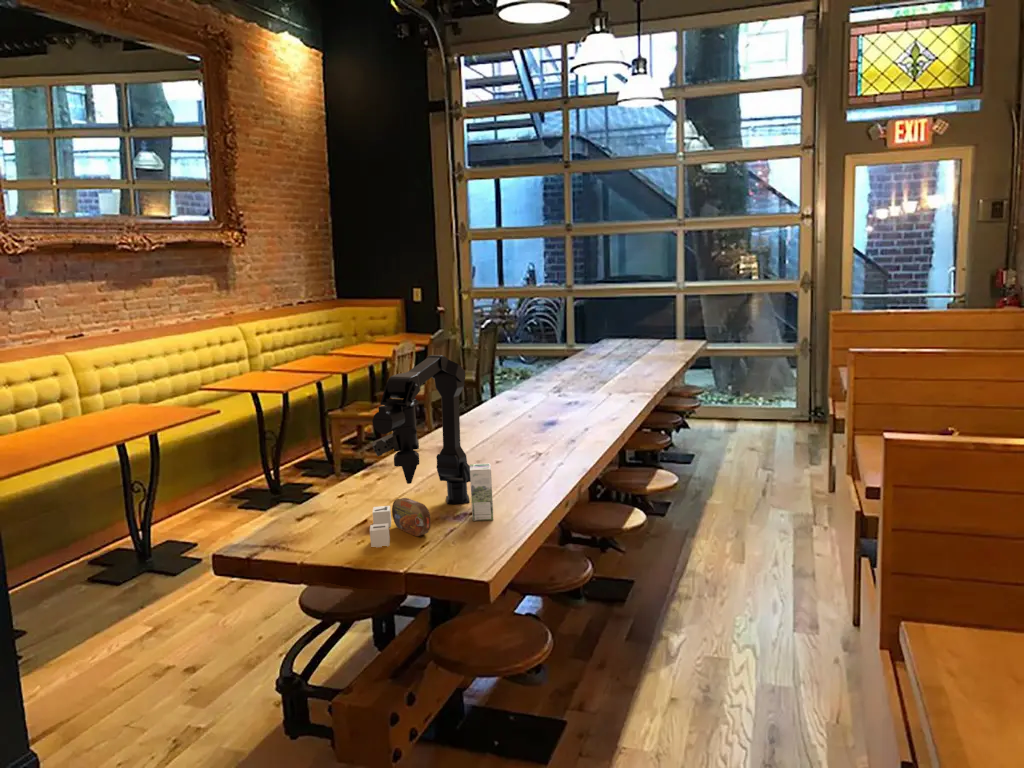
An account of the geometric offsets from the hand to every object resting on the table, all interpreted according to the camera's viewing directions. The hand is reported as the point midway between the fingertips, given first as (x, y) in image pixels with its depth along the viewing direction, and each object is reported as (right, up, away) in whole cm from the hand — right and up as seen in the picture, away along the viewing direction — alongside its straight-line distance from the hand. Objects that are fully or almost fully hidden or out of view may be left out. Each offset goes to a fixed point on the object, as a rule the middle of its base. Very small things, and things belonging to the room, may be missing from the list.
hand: (409, 483), depth 214 cm
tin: (+1, -13, +2) cm, 13 cm away
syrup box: (+19, -11, +10) cm, 24 cm away
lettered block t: (-8, -12, +8) cm, 17 cm away
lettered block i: (-6, -15, -5) cm, 17 cm away
